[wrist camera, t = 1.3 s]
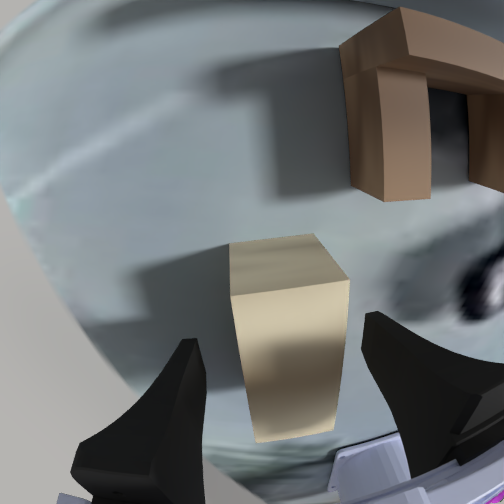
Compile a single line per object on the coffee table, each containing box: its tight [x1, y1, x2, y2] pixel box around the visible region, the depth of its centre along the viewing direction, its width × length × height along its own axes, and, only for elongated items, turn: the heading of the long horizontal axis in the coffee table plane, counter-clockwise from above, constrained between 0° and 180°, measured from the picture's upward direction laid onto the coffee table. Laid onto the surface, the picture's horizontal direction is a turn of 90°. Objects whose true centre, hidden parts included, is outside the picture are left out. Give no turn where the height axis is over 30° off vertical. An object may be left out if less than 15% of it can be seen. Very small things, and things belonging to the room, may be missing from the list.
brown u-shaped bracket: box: [339, 7, 504, 202], centre depth 9 cm, size 6×9×5 cm, turn 96°
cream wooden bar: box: [229, 234, 350, 443], centre depth 12 cm, size 8×4×4 cm, turn 6°
